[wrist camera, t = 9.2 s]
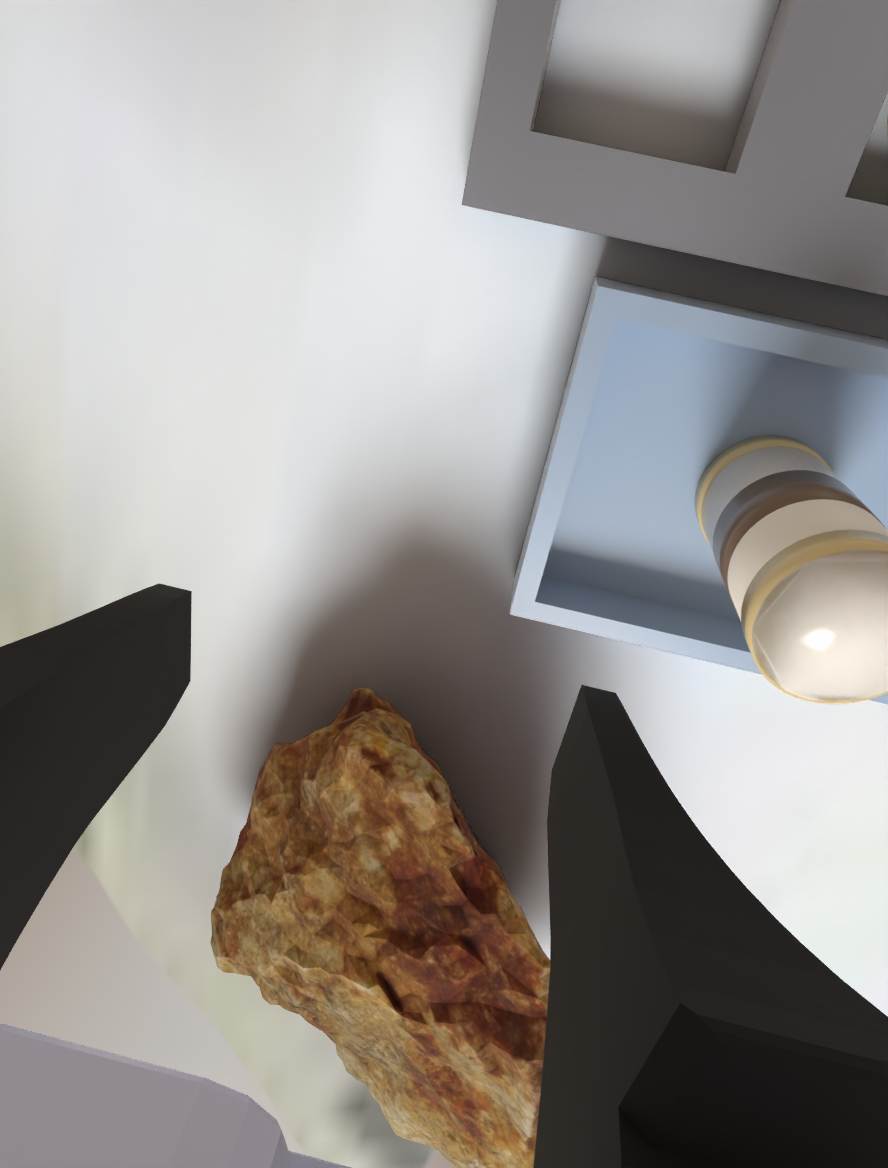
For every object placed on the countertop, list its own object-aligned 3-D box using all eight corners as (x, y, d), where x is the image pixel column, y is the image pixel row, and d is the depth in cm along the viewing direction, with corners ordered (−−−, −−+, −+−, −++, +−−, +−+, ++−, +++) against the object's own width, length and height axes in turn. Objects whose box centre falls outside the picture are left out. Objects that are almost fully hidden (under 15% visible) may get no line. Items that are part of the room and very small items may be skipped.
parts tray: (1069, 379, 18) (1130, 401, 16) (894, 668, 22) (924, 713, 20) (594, 276, 18) (598, 285, 17) (514, 579, 23) (509, 614, 21)
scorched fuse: (853, 451, 19) (987, 572, 13) (796, 566, 21) (892, 721, 15) (721, 421, 19) (794, 528, 13) (676, 538, 21) (722, 680, 15)
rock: (318, 584, 26) (55, 749, 23) (611, 854, 15) (171, 1244, 12) (466, 871, 38) (301, 1007, 35) (697, 1149, 26) (481, 1389, 23)
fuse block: (1278, -113, 14) (1348, -143, 12) (1032, 324, 18) (1067, 334, 16) (549, -250, 14) (548, -291, 13) (469, 204, 18) (461, 204, 17)
